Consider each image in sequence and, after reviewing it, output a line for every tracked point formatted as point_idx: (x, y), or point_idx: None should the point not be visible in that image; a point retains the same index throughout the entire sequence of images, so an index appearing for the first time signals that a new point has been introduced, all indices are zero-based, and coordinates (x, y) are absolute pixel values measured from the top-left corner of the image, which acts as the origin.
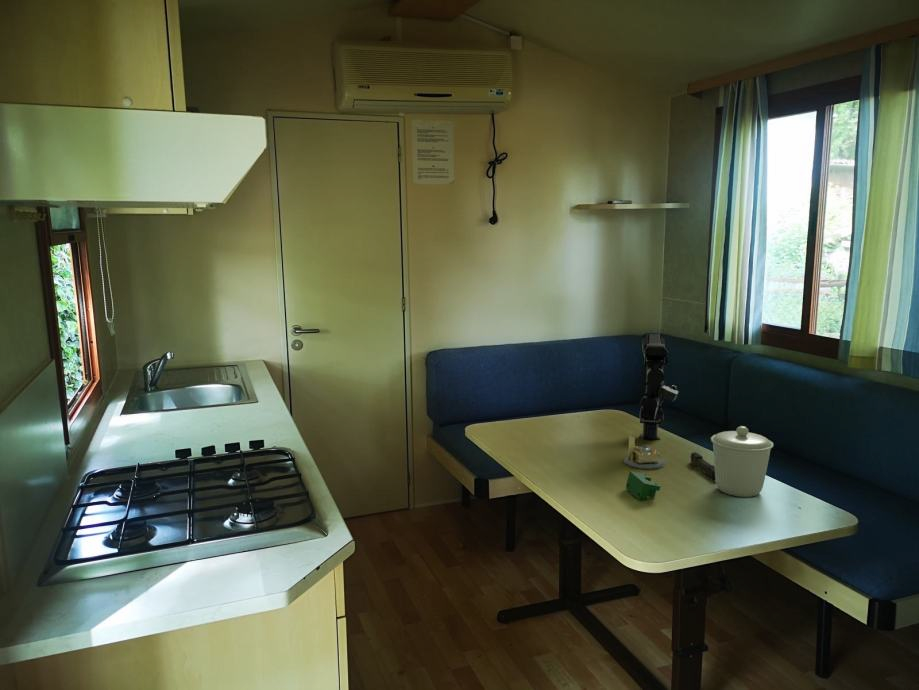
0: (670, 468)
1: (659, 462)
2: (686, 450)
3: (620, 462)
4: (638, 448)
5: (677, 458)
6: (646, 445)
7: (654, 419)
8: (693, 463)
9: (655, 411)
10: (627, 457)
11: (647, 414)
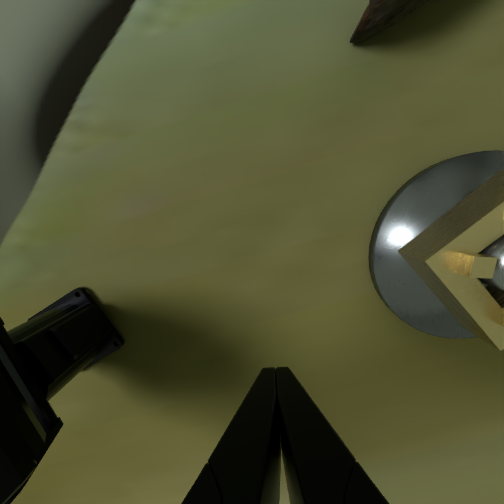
0: (497, 115)
1: (478, 178)
2: (161, 132)
3: None
4: (485, 308)
5: (314, 133)
6: (475, 277)
7: (265, 369)
8: (418, 2)
9: (381, 496)
10: (455, 328)
11: (3, 453)
